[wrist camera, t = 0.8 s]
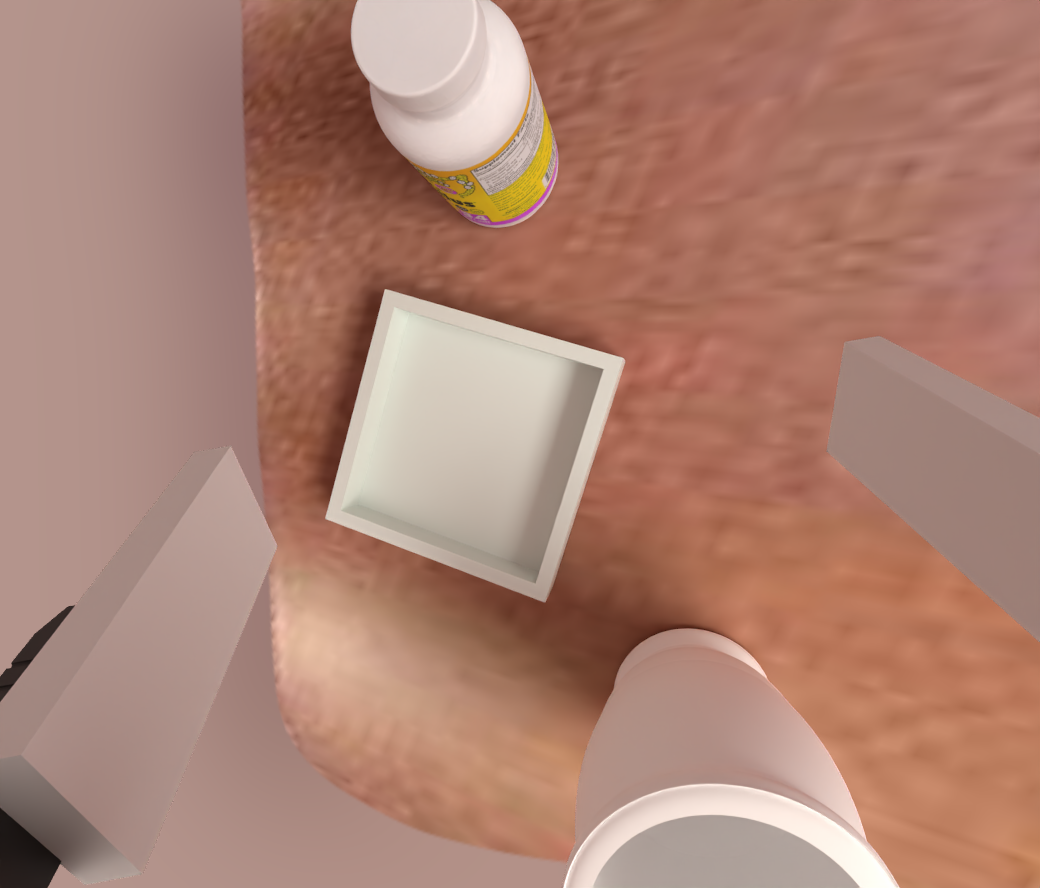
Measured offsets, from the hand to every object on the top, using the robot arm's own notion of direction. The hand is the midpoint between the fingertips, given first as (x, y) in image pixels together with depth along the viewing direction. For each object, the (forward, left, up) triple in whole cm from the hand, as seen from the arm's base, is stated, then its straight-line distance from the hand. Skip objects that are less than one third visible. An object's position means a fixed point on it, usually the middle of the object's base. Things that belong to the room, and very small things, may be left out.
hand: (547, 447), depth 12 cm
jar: (+13, +9, -20) cm, 26 cm away
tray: (+3, -7, -20) cm, 21 cm away
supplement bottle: (-12, -10, -20) cm, 25 cm away
